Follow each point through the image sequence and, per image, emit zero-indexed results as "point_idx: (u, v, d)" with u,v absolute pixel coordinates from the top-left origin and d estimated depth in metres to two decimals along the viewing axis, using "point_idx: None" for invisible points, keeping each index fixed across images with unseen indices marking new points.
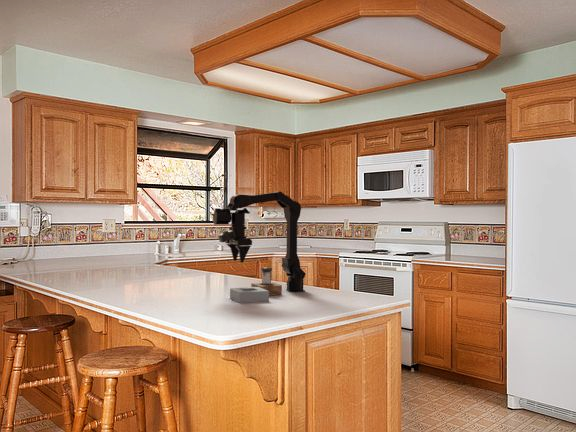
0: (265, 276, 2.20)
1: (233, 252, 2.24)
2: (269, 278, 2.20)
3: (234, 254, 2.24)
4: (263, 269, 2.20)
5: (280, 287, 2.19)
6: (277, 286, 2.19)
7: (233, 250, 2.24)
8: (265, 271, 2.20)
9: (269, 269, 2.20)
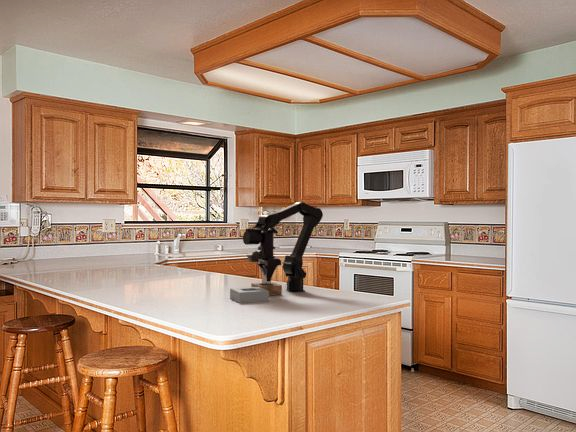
0: (265, 276, 2.20)
1: None
2: None
3: None
4: (263, 269, 2.20)
5: (280, 287, 2.19)
6: (277, 286, 2.19)
7: None
8: (265, 271, 2.20)
9: None
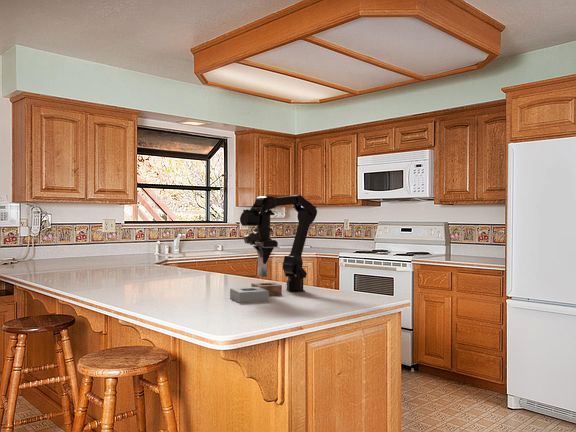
0: (261, 258, 2.17)
1: None
2: None
3: None
4: (259, 251, 2.17)
5: (280, 287, 2.19)
6: (277, 286, 2.19)
7: None
8: (261, 253, 2.17)
9: None
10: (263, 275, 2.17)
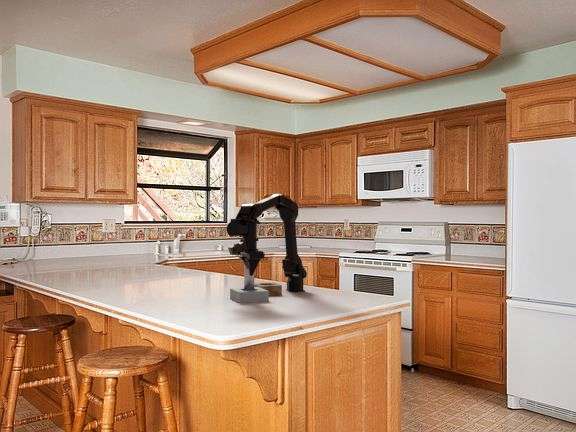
0: (247, 270, 2.04)
1: None
2: None
3: None
4: (245, 262, 2.04)
5: (280, 287, 2.19)
6: (277, 286, 2.19)
7: None
8: None
9: None
10: (250, 288, 2.04)
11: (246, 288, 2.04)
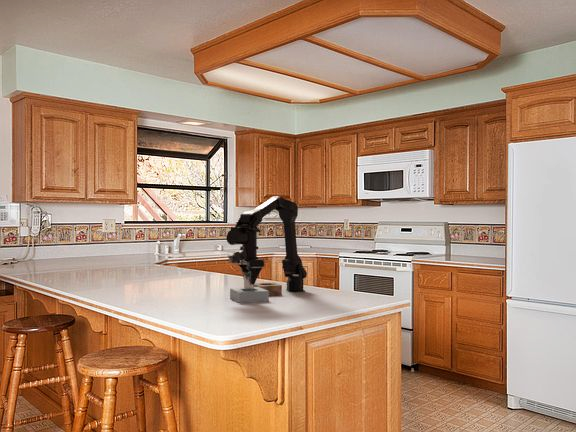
0: (247, 281, 2.04)
1: None
2: None
3: None
4: (245, 273, 2.04)
5: (280, 287, 2.19)
6: (277, 286, 2.19)
7: (244, 271, 2.10)
8: (247, 275, 2.04)
9: None
10: None
11: None
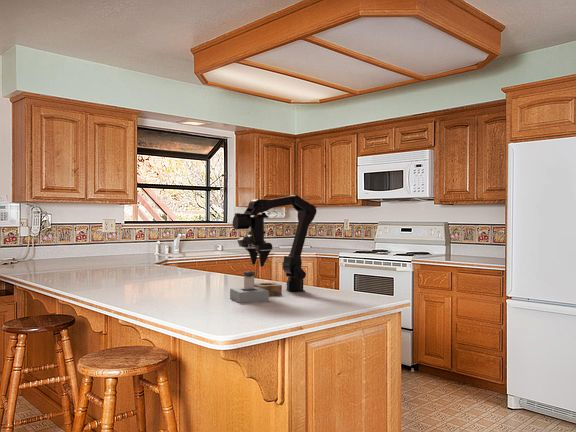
0: (247, 281, 2.04)
1: (252, 256, 2.25)
2: (252, 283, 2.05)
3: (253, 258, 2.25)
4: (245, 273, 2.04)
5: (280, 287, 2.19)
6: (277, 286, 2.19)
7: (252, 254, 2.25)
8: (247, 275, 2.04)
9: (252, 273, 2.04)
10: None
11: None
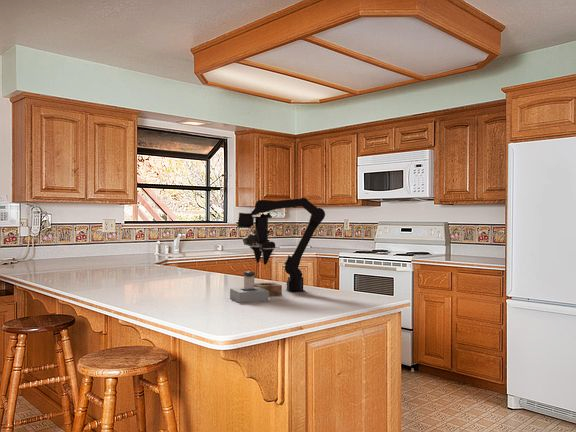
0: (247, 281, 2.04)
1: (256, 254, 2.35)
2: (252, 283, 2.05)
3: (257, 256, 2.35)
4: (245, 273, 2.04)
5: (280, 287, 2.19)
6: (277, 286, 2.19)
7: (256, 253, 2.35)
8: (247, 275, 2.04)
9: (252, 273, 2.04)
10: None
11: None
